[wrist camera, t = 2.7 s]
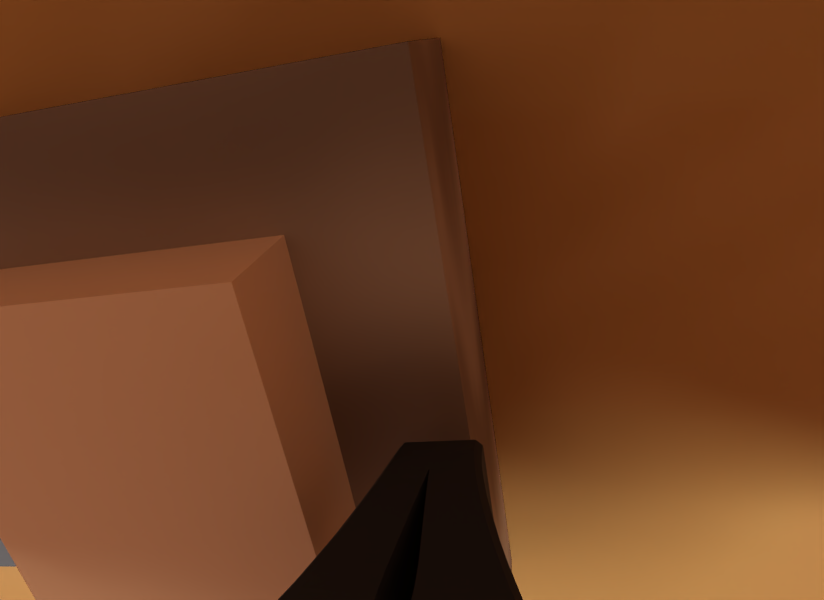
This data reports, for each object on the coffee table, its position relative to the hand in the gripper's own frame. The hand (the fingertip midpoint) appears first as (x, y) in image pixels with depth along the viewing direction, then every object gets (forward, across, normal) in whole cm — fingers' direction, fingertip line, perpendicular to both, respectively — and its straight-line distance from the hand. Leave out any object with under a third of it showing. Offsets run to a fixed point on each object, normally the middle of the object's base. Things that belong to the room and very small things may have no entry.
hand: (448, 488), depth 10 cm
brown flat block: (+5, +5, 0) cm, 7 cm away
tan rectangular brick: (+1, +5, 0) cm, 5 cm away
